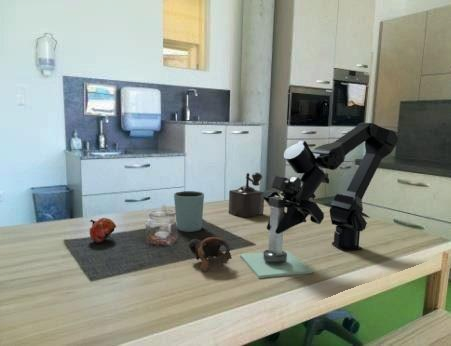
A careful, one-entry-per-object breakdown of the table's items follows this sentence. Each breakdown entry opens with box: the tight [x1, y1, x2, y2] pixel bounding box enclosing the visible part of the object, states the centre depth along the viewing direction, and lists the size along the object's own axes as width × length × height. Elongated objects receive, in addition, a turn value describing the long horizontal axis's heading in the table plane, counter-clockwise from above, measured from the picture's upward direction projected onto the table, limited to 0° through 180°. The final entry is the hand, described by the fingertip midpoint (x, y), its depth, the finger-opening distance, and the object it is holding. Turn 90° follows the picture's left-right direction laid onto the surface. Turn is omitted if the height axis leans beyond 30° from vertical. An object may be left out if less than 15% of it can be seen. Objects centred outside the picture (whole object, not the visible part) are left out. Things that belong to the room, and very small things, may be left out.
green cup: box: [173, 190, 205, 233], centre depth 121 cm, size 10×10×12 cm
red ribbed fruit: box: [89, 217, 117, 244], centre depth 106 cm, size 7×7×10 cm
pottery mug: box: [188, 236, 233, 273], centre depth 90 cm, size 12×10×8 cm
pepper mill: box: [228, 172, 265, 219], centre depth 141 cm, size 16×11×18 cm
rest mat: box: [239, 250, 313, 279], centre depth 92 cm, size 14×14×1 cm
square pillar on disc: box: [262, 196, 287, 264], centre depth 91 cm, size 6×6×16 cm
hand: (272, 231), depth 90 cm, fingers closed on square pillar on disc, 3 cm apart
